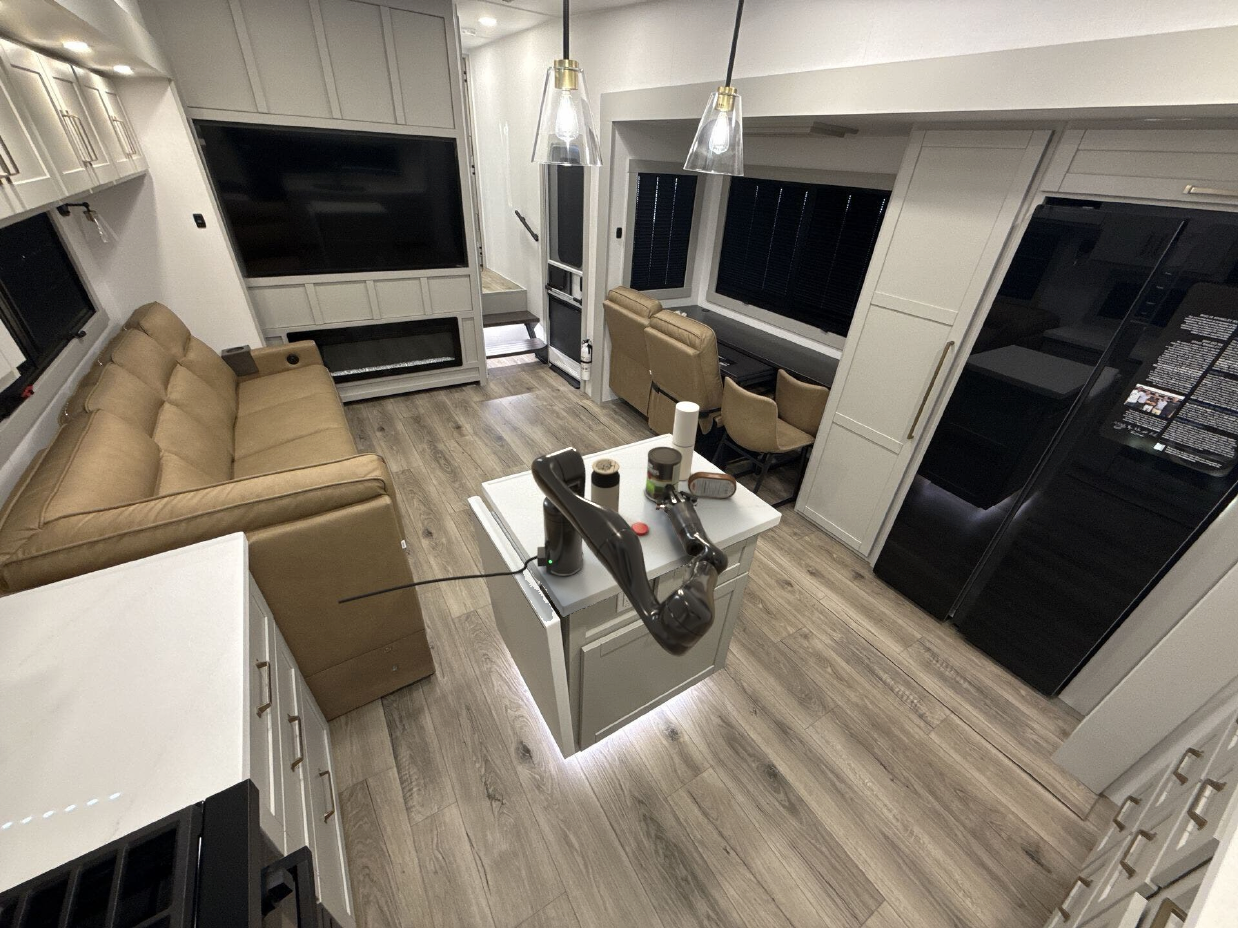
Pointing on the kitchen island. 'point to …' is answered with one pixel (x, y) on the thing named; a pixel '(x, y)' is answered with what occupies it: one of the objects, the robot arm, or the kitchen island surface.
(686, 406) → the cylindrical container
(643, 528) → the red spoon
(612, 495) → the travel mug
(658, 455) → the coffee can
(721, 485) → the tin
